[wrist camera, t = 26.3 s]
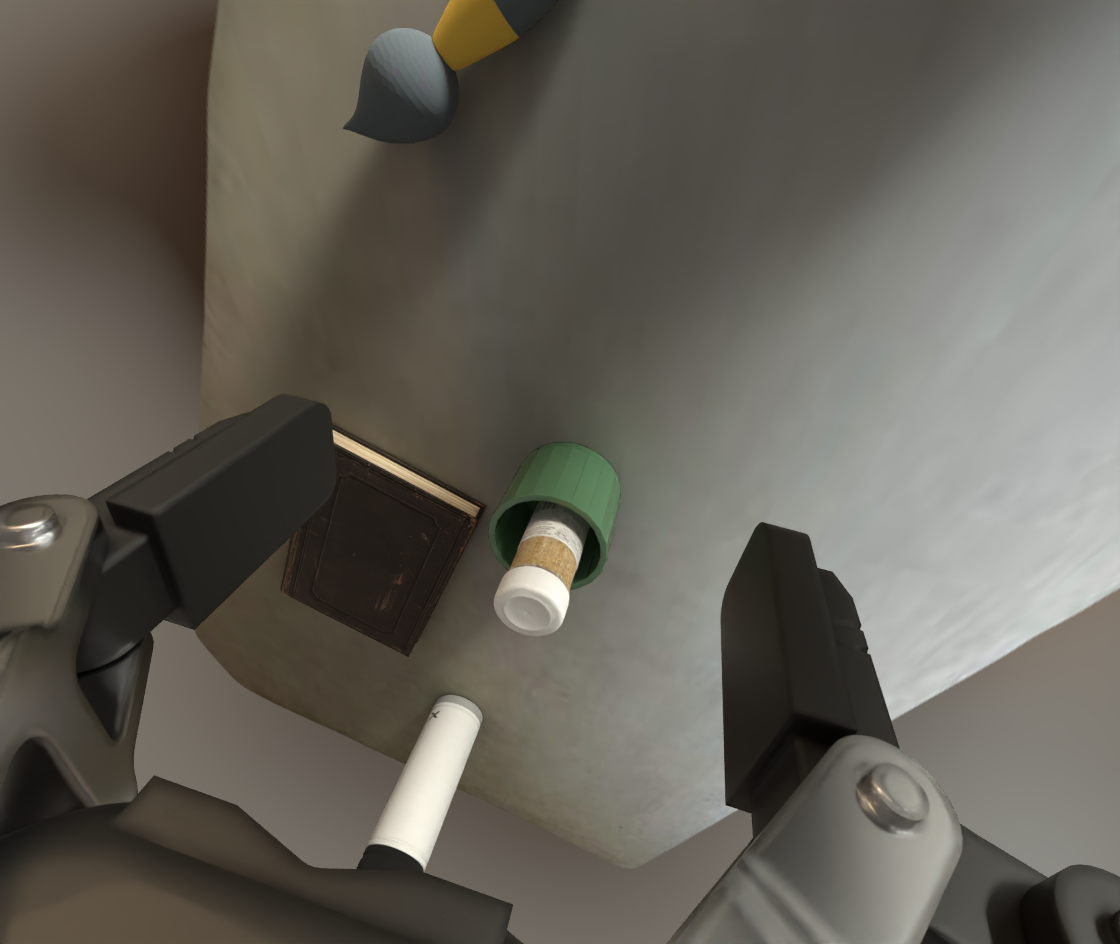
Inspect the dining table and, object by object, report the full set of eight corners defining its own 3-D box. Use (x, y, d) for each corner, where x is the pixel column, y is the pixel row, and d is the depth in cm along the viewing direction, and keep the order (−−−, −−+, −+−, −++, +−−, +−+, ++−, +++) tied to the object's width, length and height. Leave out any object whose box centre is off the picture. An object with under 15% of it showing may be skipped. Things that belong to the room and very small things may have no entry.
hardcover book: (486, 505, 47) (477, 521, 45) (417, 640, 60) (408, 657, 58) (324, 419, 46) (308, 431, 44) (290, 575, 59) (276, 590, 58)
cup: (600, 431, 41) (581, 484, 34) (634, 521, 44) (623, 583, 38) (501, 455, 44) (468, 507, 38) (541, 537, 48) (517, 596, 42)
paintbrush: (608, -241, 23) (587, -320, 19) (672, -120, 24) (665, -170, 20) (355, 113, 33) (305, 110, 29) (412, 184, 34) (372, 191, 30)
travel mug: (430, 688, 65) (336, 875, 49) (480, 699, 64) (402, 895, 47) (437, 718, 68) (352, 903, 52) (485, 729, 67) (413, 922, 51)
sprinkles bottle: (553, 516, 45) (504, 639, 34) (539, 472, 43) (481, 587, 32) (605, 512, 44) (570, 639, 33) (592, 466, 42) (551, 585, 31)
